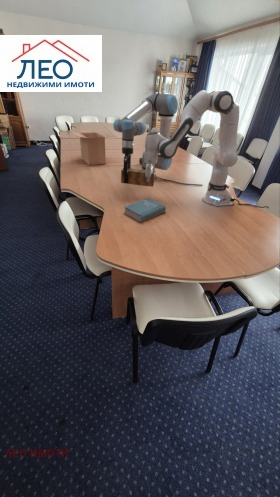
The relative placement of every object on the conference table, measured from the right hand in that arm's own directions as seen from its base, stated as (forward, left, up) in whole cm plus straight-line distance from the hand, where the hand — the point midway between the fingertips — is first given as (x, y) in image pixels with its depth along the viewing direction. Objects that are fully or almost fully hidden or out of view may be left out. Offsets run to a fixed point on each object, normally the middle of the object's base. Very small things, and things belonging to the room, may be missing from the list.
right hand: (148, 179), depth 156 cm
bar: (+8, -2, -4) cm, 9 cm away
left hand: (+15, -4, -3) cm, 16 cm away
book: (+4, +21, -15) cm, 27 cm away
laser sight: (-14, -91, -15) cm, 93 cm away
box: (+46, -97, -15) cm, 109 cm away
